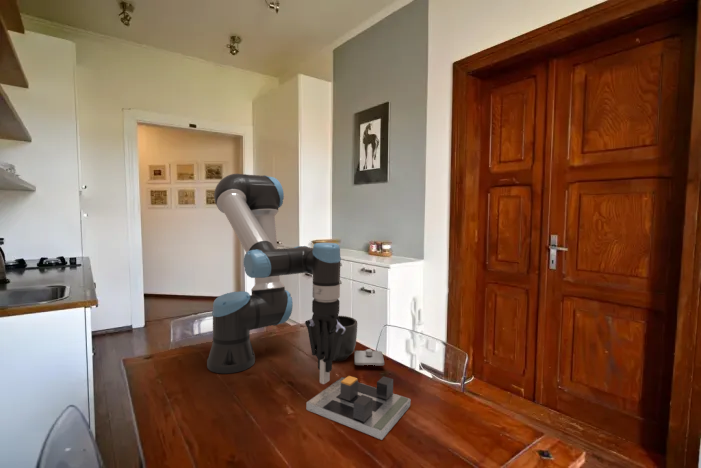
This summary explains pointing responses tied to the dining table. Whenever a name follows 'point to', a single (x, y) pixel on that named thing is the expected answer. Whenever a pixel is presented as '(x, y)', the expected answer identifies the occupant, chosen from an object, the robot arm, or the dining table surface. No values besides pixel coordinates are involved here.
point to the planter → (347, 337)
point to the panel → (354, 423)
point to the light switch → (369, 357)
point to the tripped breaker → (349, 388)
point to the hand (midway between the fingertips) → (324, 381)
